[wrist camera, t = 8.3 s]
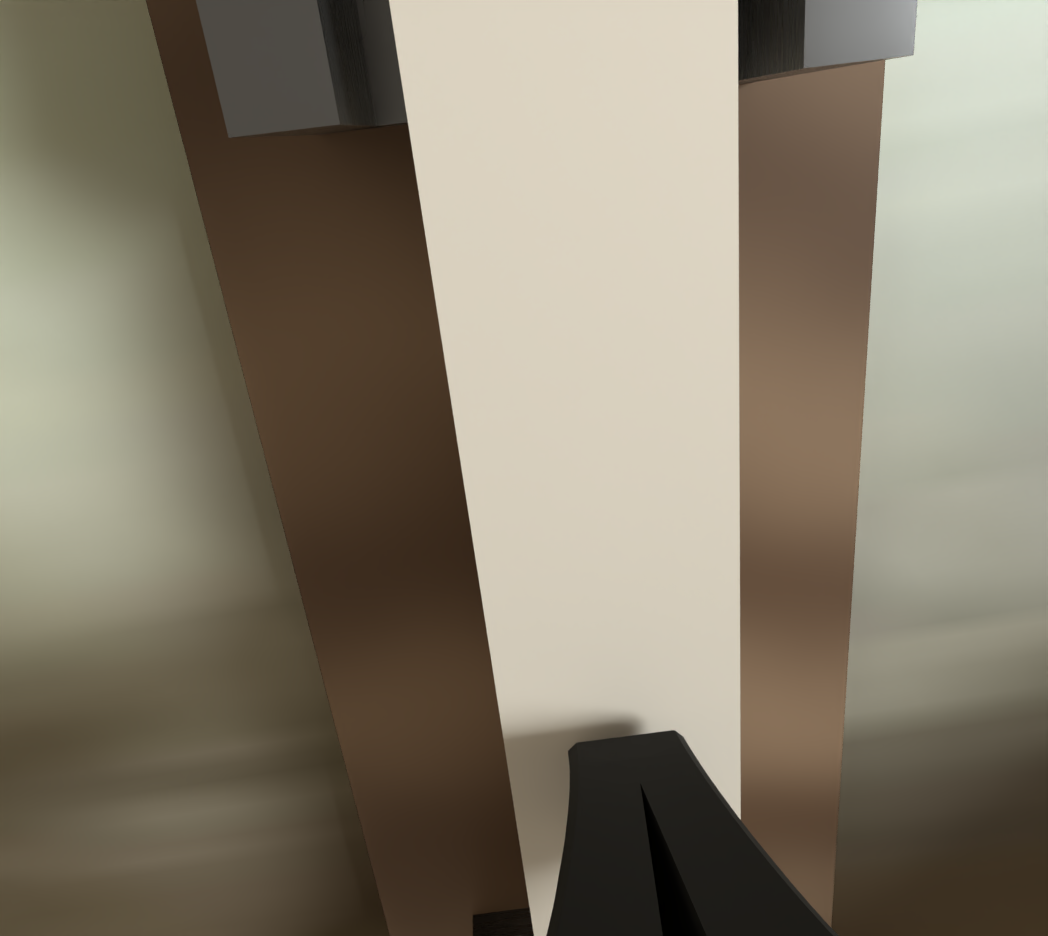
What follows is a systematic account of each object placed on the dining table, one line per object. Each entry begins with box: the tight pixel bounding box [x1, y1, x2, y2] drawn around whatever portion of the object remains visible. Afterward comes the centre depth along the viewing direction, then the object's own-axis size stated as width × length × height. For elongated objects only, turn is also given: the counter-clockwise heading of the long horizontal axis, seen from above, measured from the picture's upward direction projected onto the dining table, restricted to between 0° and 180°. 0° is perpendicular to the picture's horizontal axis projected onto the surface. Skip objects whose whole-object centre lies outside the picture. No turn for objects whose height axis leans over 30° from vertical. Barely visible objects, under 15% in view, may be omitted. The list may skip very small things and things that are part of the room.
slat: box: [389, 0, 741, 936], centre depth 12 cm, size 24×3×3 cm, turn 6°
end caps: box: [196, 0, 917, 936], centre depth 12 cm, size 28×6×4 cm, turn 6°
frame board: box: [146, 0, 885, 936], centre depth 15 cm, size 29×10×1 cm, turn 6°
